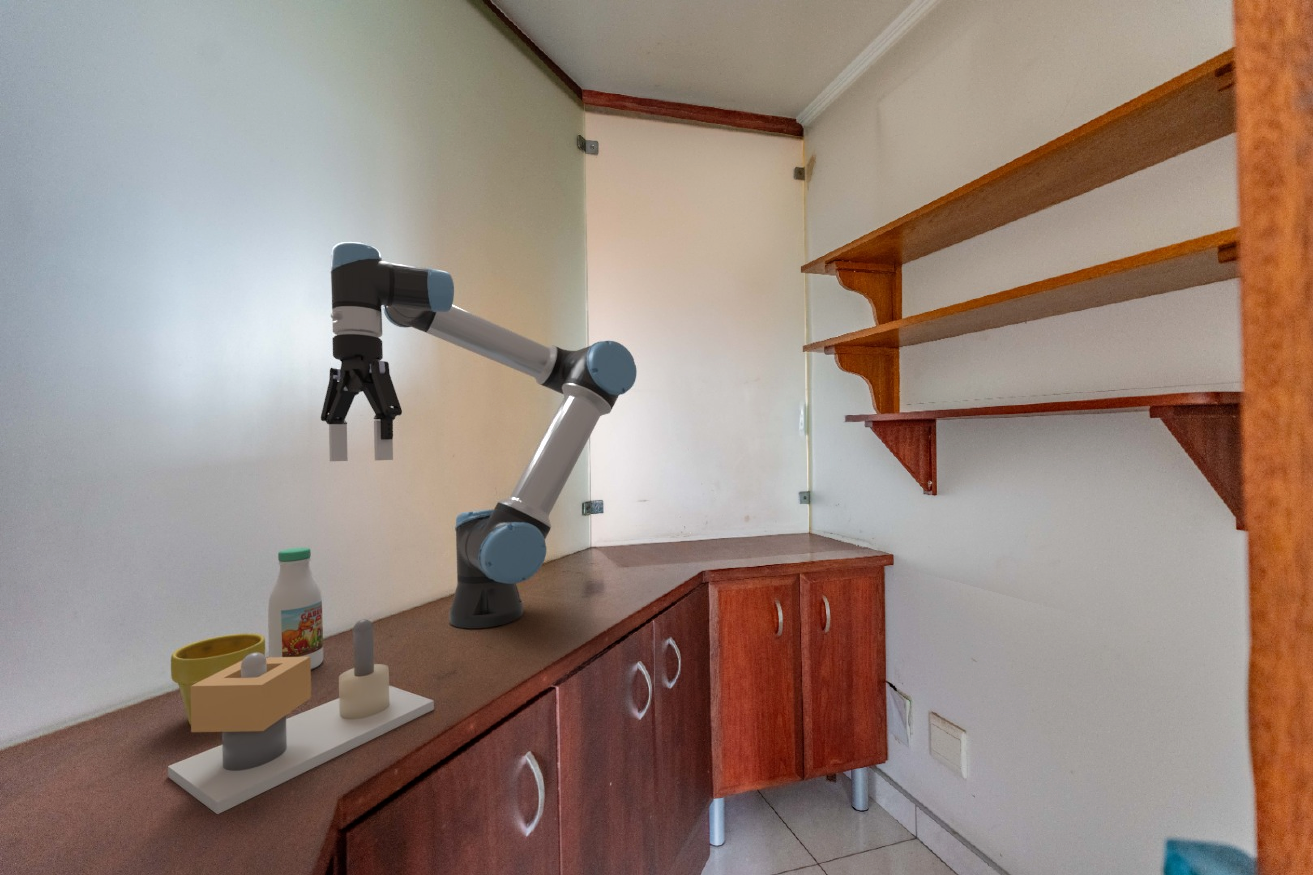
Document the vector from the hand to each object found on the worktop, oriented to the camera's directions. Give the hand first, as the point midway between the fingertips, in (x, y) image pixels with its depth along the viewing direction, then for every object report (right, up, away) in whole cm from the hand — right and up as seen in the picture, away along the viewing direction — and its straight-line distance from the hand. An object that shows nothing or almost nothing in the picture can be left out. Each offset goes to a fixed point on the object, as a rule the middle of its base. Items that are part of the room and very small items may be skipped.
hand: (360, 460), depth 94 cm
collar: (+4, -28, -30) cm, 41 cm away
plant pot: (-10, -35, -17) cm, 40 cm away
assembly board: (+7, -34, -24) cm, 43 cm away
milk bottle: (-11, -35, 0) cm, 37 cm away
